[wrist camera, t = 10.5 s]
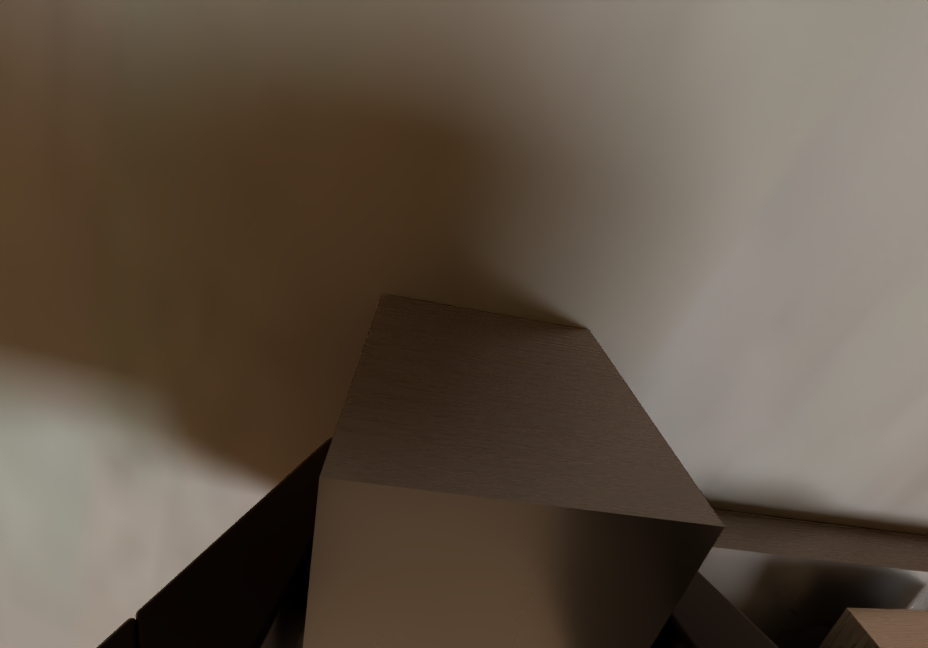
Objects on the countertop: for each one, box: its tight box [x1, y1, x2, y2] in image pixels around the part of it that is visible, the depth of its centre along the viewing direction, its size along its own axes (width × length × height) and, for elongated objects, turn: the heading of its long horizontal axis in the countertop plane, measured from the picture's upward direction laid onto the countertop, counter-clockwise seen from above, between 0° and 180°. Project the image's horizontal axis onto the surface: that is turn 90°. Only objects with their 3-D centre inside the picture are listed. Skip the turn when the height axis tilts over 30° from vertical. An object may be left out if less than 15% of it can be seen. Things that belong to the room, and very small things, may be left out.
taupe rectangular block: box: [303, 294, 725, 648], centre depth 7 cm, size 4×5×4 cm
